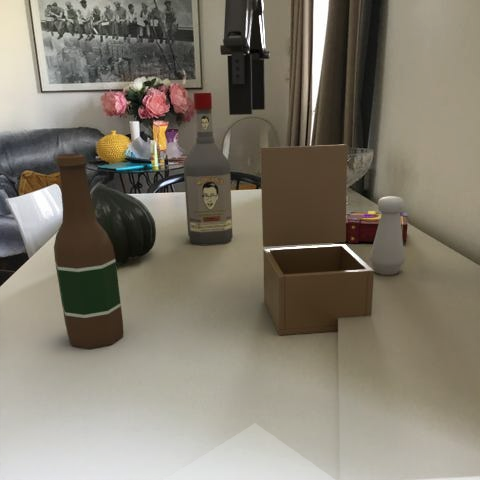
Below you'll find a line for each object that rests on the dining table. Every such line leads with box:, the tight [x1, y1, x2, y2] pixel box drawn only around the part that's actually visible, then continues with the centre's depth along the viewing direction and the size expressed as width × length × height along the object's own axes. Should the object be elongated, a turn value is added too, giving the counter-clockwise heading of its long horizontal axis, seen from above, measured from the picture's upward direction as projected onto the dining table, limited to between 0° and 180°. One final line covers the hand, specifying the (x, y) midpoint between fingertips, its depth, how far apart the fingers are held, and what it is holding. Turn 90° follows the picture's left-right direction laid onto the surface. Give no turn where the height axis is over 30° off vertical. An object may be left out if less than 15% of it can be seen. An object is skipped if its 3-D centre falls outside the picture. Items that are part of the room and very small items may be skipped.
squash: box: [90, 186, 157, 265], centre depth 110 cm, size 14×15×15 cm
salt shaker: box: [369, 195, 405, 276], centre depth 97 cm, size 6×6×13 cm
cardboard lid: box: [259, 143, 348, 248], centre depth 83 cm, size 14×13×1 cm
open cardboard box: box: [262, 243, 375, 336], centre depth 81 cm, size 14×13×8 cm
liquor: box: [183, 92, 234, 246], centre depth 119 cm, size 9×9×30 cm
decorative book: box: [346, 210, 409, 244], centre depth 121 cm, size 11×16×5 cm
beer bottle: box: [53, 153, 125, 350], centre depth 72 cm, size 8×8×24 cm
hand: (248, 112), depth 75 cm, fingers open, 13 cm apart
